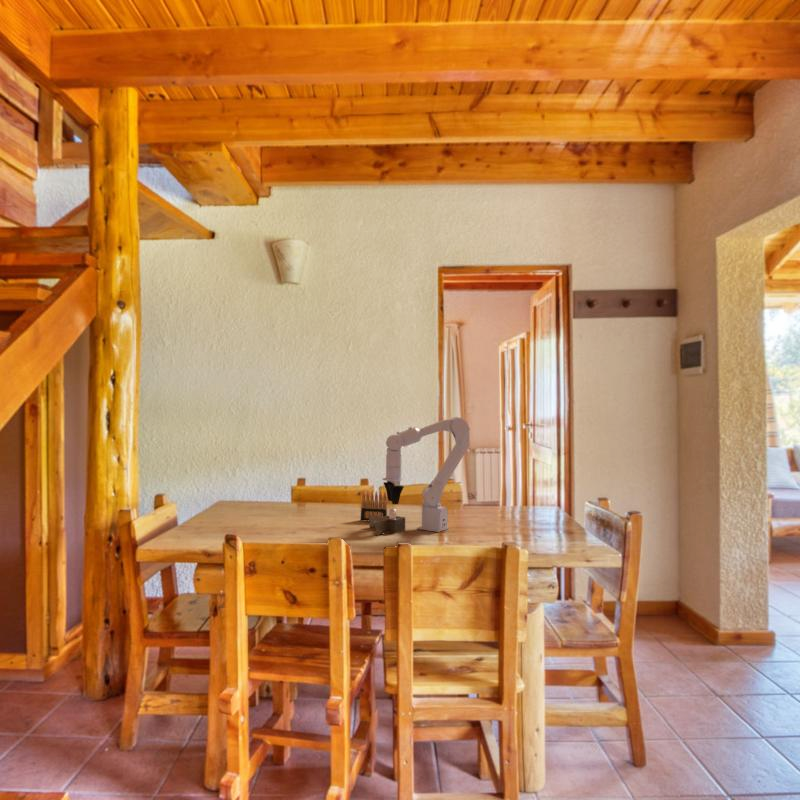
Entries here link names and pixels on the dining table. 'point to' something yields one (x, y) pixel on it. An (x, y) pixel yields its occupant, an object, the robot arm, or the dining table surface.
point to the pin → (392, 513)
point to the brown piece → (386, 524)
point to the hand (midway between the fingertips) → (393, 502)
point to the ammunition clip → (373, 505)
